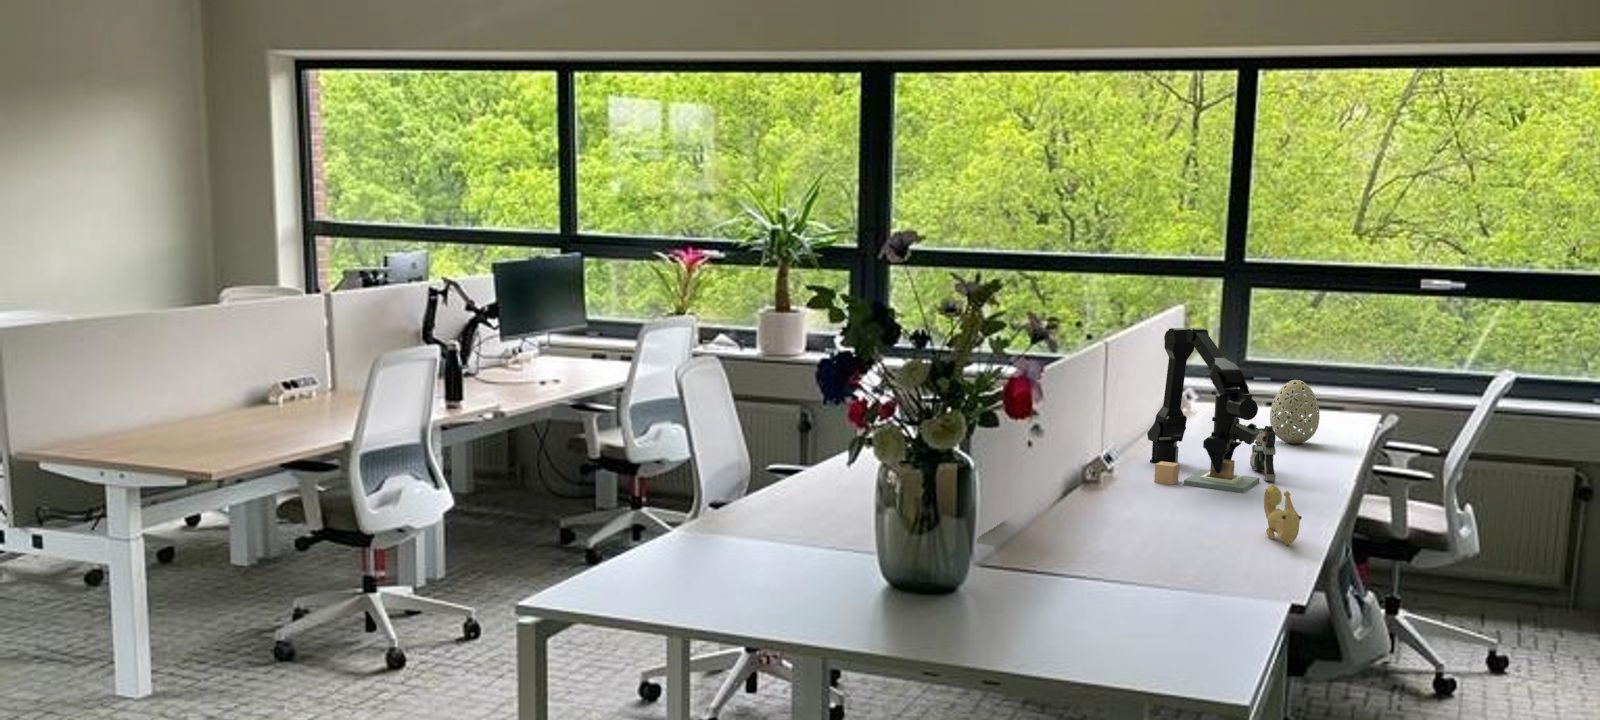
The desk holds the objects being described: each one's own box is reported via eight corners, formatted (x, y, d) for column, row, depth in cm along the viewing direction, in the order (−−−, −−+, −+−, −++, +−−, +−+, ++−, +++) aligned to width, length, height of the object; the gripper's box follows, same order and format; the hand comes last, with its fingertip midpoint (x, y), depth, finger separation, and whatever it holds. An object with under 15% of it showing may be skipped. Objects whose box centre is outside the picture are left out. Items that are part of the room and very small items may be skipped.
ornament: (1322, 442, 451) (1326, 379, 448) (1311, 449, 439) (1315, 385, 436) (1275, 437, 459) (1278, 375, 456) (1262, 444, 446) (1266, 380, 444)
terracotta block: (1154, 482, 388) (1155, 464, 387) (1160, 479, 392) (1161, 461, 392) (1172, 484, 385) (1173, 466, 385) (1178, 481, 390) (1179, 463, 389)
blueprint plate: (1183, 484, 385) (1183, 477, 385) (1200, 474, 399) (1201, 467, 399) (1243, 492, 377) (1244, 485, 377) (1259, 481, 391) (1259, 474, 390)
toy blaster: (1260, 479, 410) (1262, 426, 411) (1278, 481, 389) (1279, 426, 390) (1247, 478, 410) (1248, 426, 411) (1264, 480, 390) (1265, 425, 390)
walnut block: (1209, 479, 387) (1210, 461, 386) (1215, 476, 391) (1216, 458, 391) (1228, 481, 384) (1229, 463, 384) (1233, 478, 389) (1234, 460, 388)
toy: (1280, 479, 337) (1309, 497, 317) (1277, 530, 339) (1306, 551, 319) (1257, 479, 337) (1285, 497, 317) (1255, 530, 339) (1281, 551, 319)
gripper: (1246, 421, 373) (1243, 480, 376) (1264, 412, 389) (1261, 468, 391) (1204, 417, 379) (1200, 475, 381) (1223, 408, 395) (1220, 463, 397)
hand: (1222, 470), depth 388 cm, fingers open, 8 cm apart
